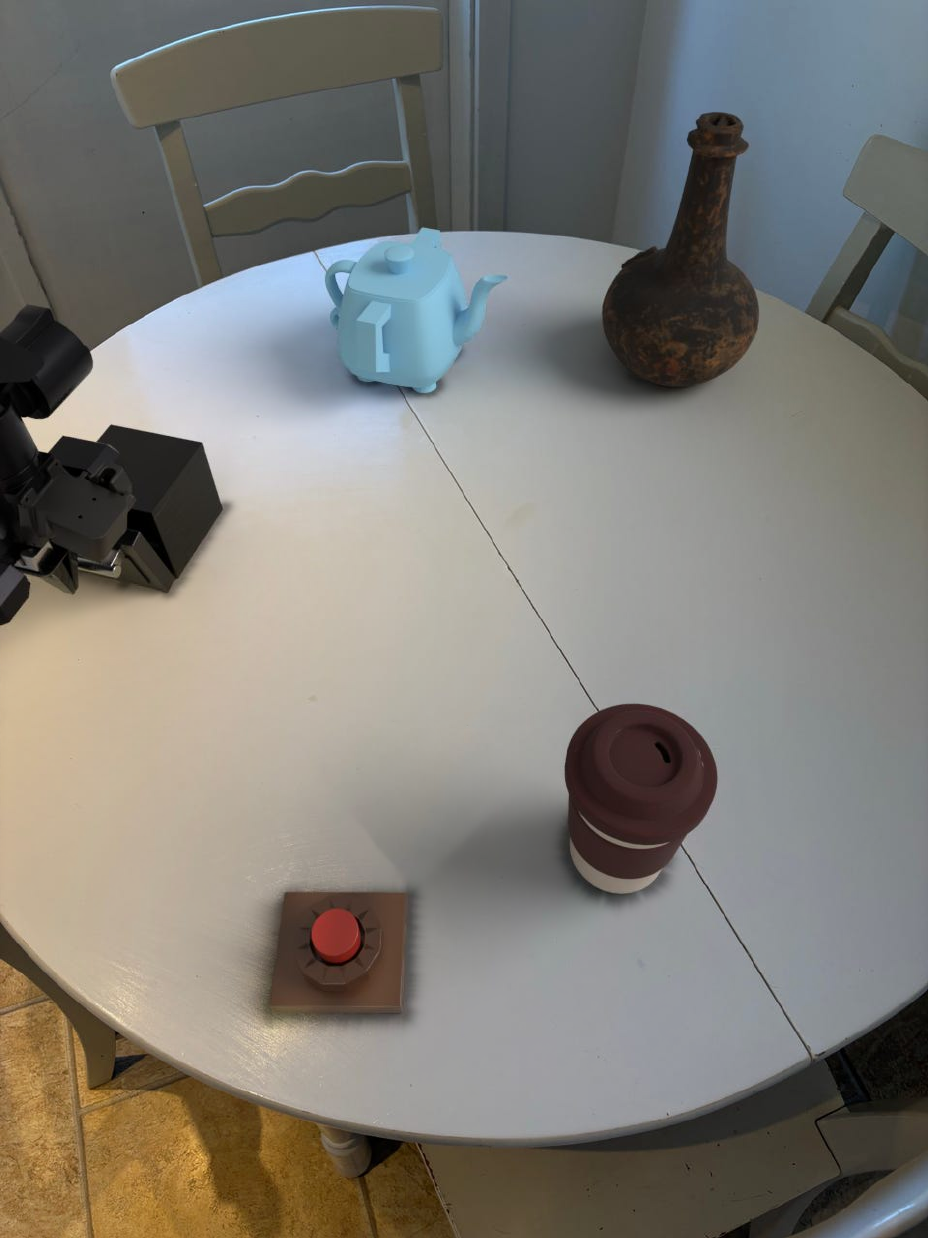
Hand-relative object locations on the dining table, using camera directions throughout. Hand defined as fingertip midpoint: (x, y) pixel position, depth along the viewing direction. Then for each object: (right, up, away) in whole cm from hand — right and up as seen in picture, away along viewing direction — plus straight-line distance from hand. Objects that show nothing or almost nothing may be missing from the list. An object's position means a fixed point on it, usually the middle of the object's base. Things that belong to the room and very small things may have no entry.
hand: (71, 590), depth 79 cm
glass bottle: (+60, +28, +29) cm, 72 cm away
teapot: (+29, +28, +29) cm, 50 cm away
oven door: (+2, +1, +7) cm, 7 cm away
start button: (+26, -25, -17) cm, 40 cm away
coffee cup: (+47, -21, -10) cm, 52 cm away
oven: (+4, +6, +12) cm, 14 cm away
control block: (+26, -27, -15) cm, 40 cm away
